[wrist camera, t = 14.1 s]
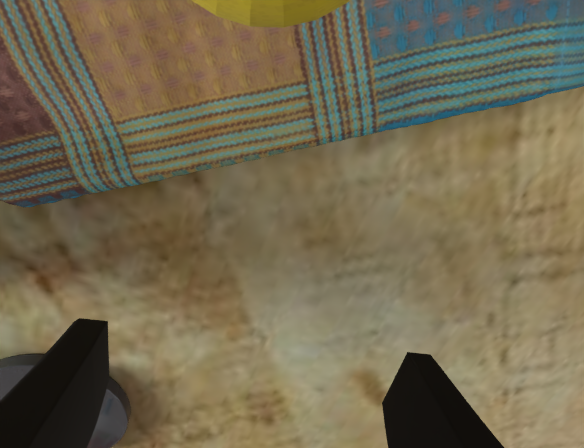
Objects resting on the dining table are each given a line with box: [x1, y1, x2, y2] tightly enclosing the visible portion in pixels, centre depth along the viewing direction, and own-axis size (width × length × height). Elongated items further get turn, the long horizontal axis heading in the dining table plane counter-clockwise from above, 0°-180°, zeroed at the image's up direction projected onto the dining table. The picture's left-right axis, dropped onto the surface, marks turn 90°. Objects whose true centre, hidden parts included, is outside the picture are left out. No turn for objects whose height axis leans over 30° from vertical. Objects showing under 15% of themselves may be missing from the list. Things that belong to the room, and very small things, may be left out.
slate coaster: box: [0, 354, 131, 448], centre depth 26 cm, size 9×9×1 cm
